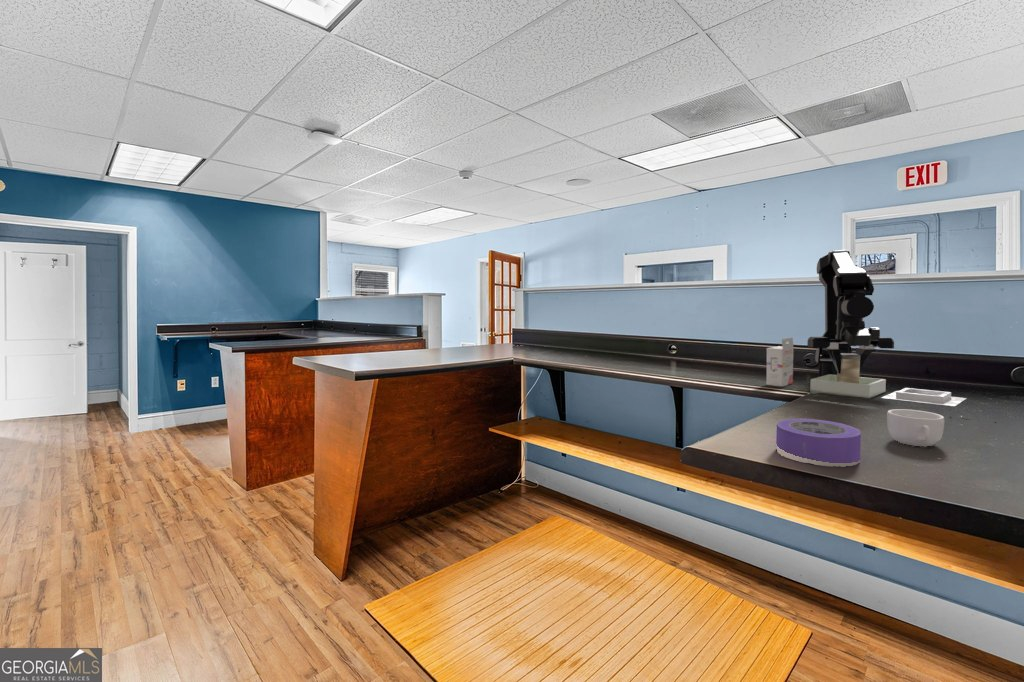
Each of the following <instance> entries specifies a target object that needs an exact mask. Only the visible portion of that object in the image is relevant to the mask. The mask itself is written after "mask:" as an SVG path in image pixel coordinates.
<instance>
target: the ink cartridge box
mask: <svg viewBox="0 0 1024 682" xmlns="http://www.w3.org/2000/svg"><path fill="white" fill-rule="evenodd" d="M787 342H789V343H787ZM794 350H795V349H794V339H793V337H792V336H791V337H785V338H782V339H781V345H778V346H772V347H766V386H775V387H781V388H782V387H786V386H789V385H792V384H793V382H794V379H793V378H794Z"/></svg>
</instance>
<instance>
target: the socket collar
mask: <svg viewBox="0 0 1024 682" xmlns="http://www.w3.org/2000/svg"><path fill="white" fill-rule="evenodd" d="M880 398H881V399H887V400H888V399H889V400H897V401H905V402H913V403H921V404H922V403H923V404H932V405H938V406H939V405H940V406H949V407H956V406H958V405H959V404H961V403H962V402H963V401H965V400H967V397H959V396H952V392H951V391H941V390H932V389H931V390H930V389H920V388H913V387H911V388H910V387H903V388H902V389H901V390H895V391H893V392H891V393H889V394H886V395H884V396H882V397H880Z"/></svg>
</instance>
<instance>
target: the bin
mask: <svg viewBox="0 0 1024 682" xmlns="http://www.w3.org/2000/svg"><path fill="white" fill-rule="evenodd" d="M886 384H887V379H885V378H874V377H873V378H872V377H862V376H859V384H858V383H848V382H838V381H837V375H831V374H828V375H824V376H821V377H819V376H818V377H814V378H811V379H810V384H809V385H810V386H809V387H810V388H809V391H810V392H809V393H810V394H812V395H813V394H814V395H816V394H819V393H821V394H829V395H837V396H846V397H847V396H848V397H855V398H861V399H862V398H863V399H871V398H874V397H876V396H878V395H881V394H884V393H886V387H887V386H886Z"/></svg>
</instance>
